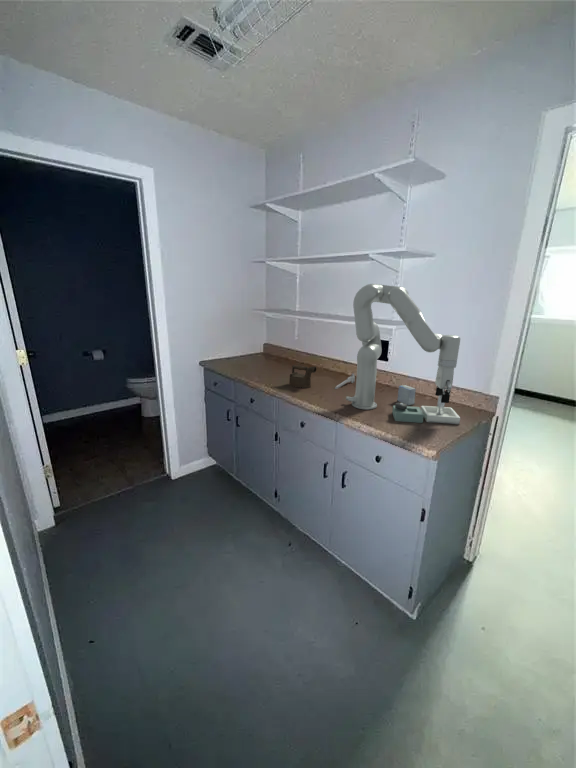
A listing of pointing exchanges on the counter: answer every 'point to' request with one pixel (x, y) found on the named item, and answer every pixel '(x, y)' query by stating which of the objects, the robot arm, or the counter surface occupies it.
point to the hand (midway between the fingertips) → (441, 399)
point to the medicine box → (406, 394)
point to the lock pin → (440, 406)
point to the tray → (447, 417)
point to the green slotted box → (407, 413)
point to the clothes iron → (301, 377)
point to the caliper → (351, 378)
